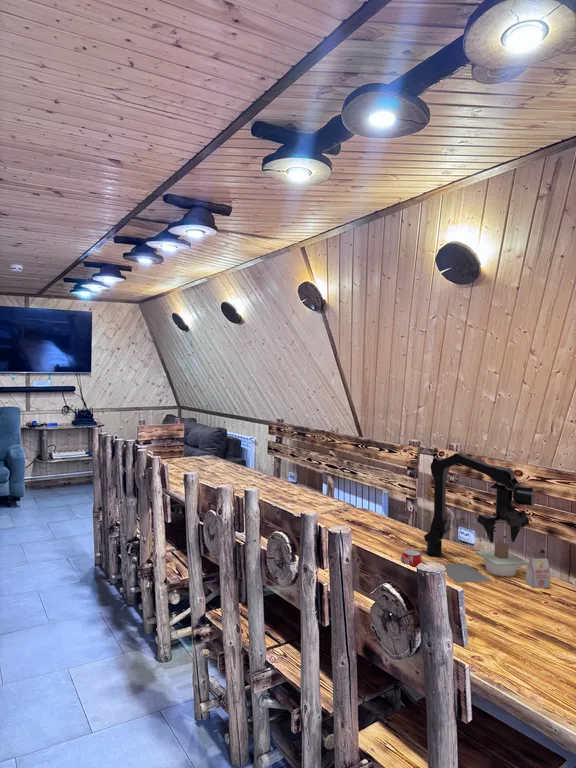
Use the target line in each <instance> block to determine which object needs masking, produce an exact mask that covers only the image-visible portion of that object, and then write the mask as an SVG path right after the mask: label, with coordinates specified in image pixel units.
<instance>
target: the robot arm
mask: <svg viewBox="0 0 576 768" xmlns="http://www.w3.org/2000/svg"><path fill="white" fill-rule="evenodd" d="M455 465H461V466H463V467H466V468H469V469H471V470H474V471H476V472H479V473H481V474H484V475H486V476H488V477H489V478H490V479H491V480H493V481H494V483H493V485H491V486H490V488H491V489H495V491H496V492H495V494H496V495H495V502H494V501H493V506H494V507H495V512H493V513H492V516H491V515H489V514H479V515H478V516H477V521H476V522H477V523H479V524H480V525H481V526H482V527H483V528H484V530H485V533H486V534H487V535H486V536H487V538H488V540H489V543H490V544H493V543H494V533H495V532H494V530H495V529H496V523H507V525H508V526H509V529H510V530H509V531H510V540H511V542H512V543H515V541H516V539H517V537H518V534H519V532H520V531H521V530H522V529H523V528H525V527H527V526H529V525H530V519H529V518H528V516H527V513H526V512H524V511H520V512H519V511H516V508H515V505H513V501H514V502H515V504H517V505H522V506H523V505H524V506H528V507H534V505H535V502H536V501H535V500H536V495H535V491H534V490H535V489H534V487H533V486H532V487H531V486H523V485H522V486H521V484H520V483H519V481H518V480H517V478H516V477H515V476H516V475H515V472H514V470H513V469H512V468H510V467H506V466H500V465H493V464H489V463H487V462H484V461H482V460H479V459H476V458H474V457H471V456H469V455H466V454H464V453H462V452H455V453H454V454H451V455H450V456H448V457H445V458H439V459H434V460H433V461H432V462H431V463H430V472H431V476H432V478H433V481H434V485H433V487H434V489H433V490H434V491H433V518H432V521H431V523H430V528H429V531H428V533H426V534H425V535H423V538H424V541H425V542H426V550H423V551H422V552H423V554H425V555H427V556H428V557H429V558H437V557H438V558H441V557H445V555H444V554H443V553H442V548H443V547H442V546H443V544H442V543H443V542H442V540H444V538H445V537H446V536H447V535H448V534H449V532H450V531H451V530H452V528H451V522H452V521H451V519H447V516H446V514H447V513H446V511H447V510H446V506H447V505H446V503H447V502H446V500H447V499H446V497H447V496H446V492H447V489H446V488H447V480H448V475H449V473H450V468H451V467H453V466H455Z"/></svg>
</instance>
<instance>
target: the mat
mask: <svg viewBox="0 0 576 768" xmlns="http://www.w3.org/2000/svg"><path fill="white" fill-rule="evenodd" d="M441 565H444V566H445V568H446V573H447V575H446V577H448V578H449V579H451V580H453V582H455V583H456V584H461V583H464V584H465V583H479V582H480V583H481V582H492V580H491V579H490V578H489V577H487V576H485V575H484V574H482V573H481V572H479V571H477V570H476V569H475V568H474V567H473V566H470V565H468V563H466V562H465V563H448V564H447V563H445V564H441Z"/></svg>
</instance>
